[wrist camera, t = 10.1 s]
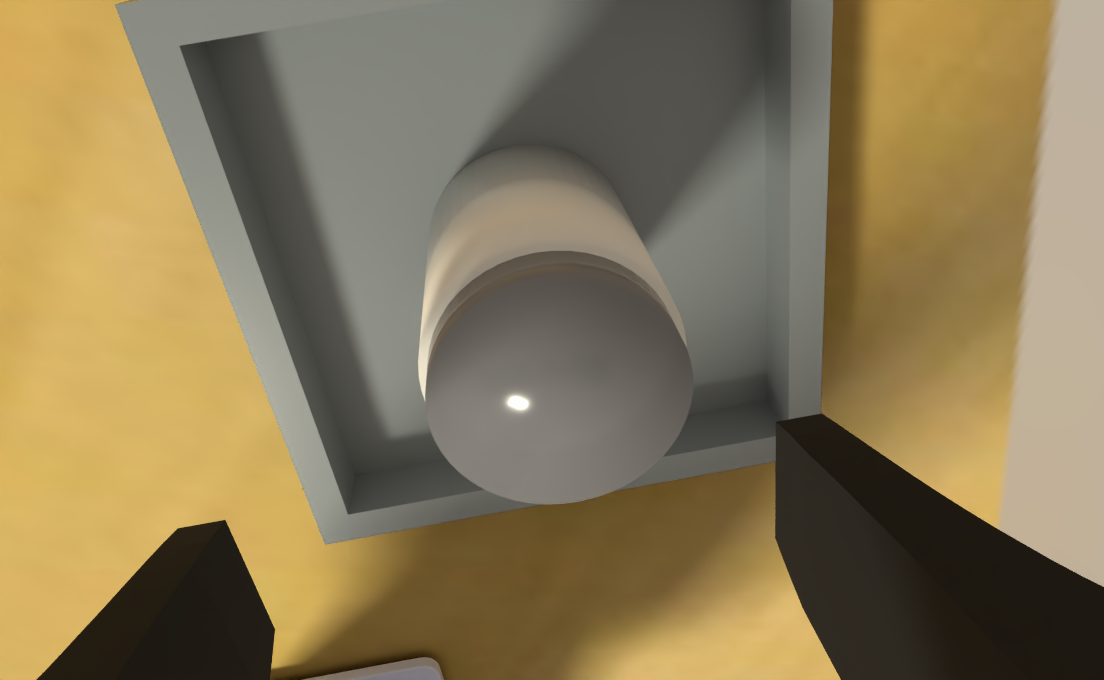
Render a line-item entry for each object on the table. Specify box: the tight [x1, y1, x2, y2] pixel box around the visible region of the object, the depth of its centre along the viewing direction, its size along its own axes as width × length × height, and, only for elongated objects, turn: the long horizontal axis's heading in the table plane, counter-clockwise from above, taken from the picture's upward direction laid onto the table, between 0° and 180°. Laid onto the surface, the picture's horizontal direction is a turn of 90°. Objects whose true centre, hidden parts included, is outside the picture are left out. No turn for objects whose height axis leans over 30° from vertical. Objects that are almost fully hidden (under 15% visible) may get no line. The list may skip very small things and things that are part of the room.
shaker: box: [418, 144, 693, 504], centre depth 15 cm, size 4×4×6 cm
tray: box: [115, 0, 833, 545], centre depth 18 cm, size 13×13×2 cm
